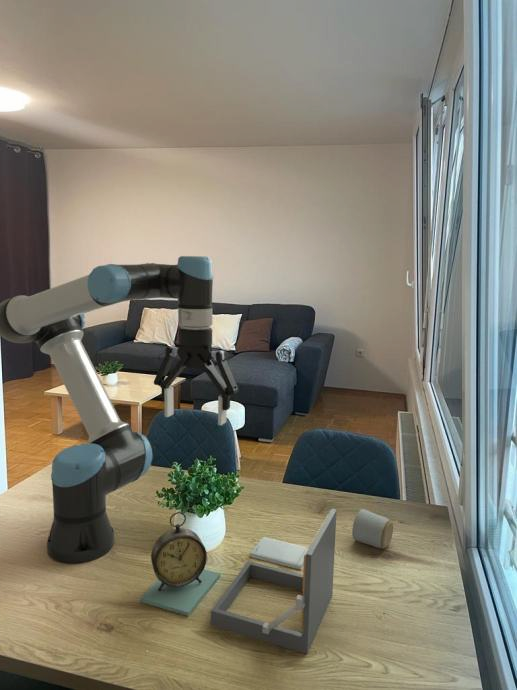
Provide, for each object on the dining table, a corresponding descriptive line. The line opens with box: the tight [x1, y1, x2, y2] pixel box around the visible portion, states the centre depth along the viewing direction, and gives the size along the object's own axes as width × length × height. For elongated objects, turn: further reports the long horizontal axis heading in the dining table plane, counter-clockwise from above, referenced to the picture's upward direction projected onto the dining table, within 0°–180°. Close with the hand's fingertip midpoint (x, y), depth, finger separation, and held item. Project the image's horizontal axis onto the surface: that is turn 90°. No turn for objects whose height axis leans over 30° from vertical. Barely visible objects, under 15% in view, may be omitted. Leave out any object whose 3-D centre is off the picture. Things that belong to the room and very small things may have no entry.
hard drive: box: [249, 536, 309, 571], centre depth 127 cm, size 2×8×12 cm
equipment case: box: [210, 508, 338, 655], centre depth 105 cm, size 19×19×19 cm
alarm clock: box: [150, 511, 208, 591], centre depth 112 cm, size 11×5×16 cm, turn 109°
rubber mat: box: [139, 568, 221, 617], centre depth 113 cm, size 11×14×1 cm
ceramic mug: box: [351, 508, 394, 550], centre depth 133 cm, size 11×8×8 cm
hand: (195, 419), depth 123 cm, fingers open, 13 cm apart
